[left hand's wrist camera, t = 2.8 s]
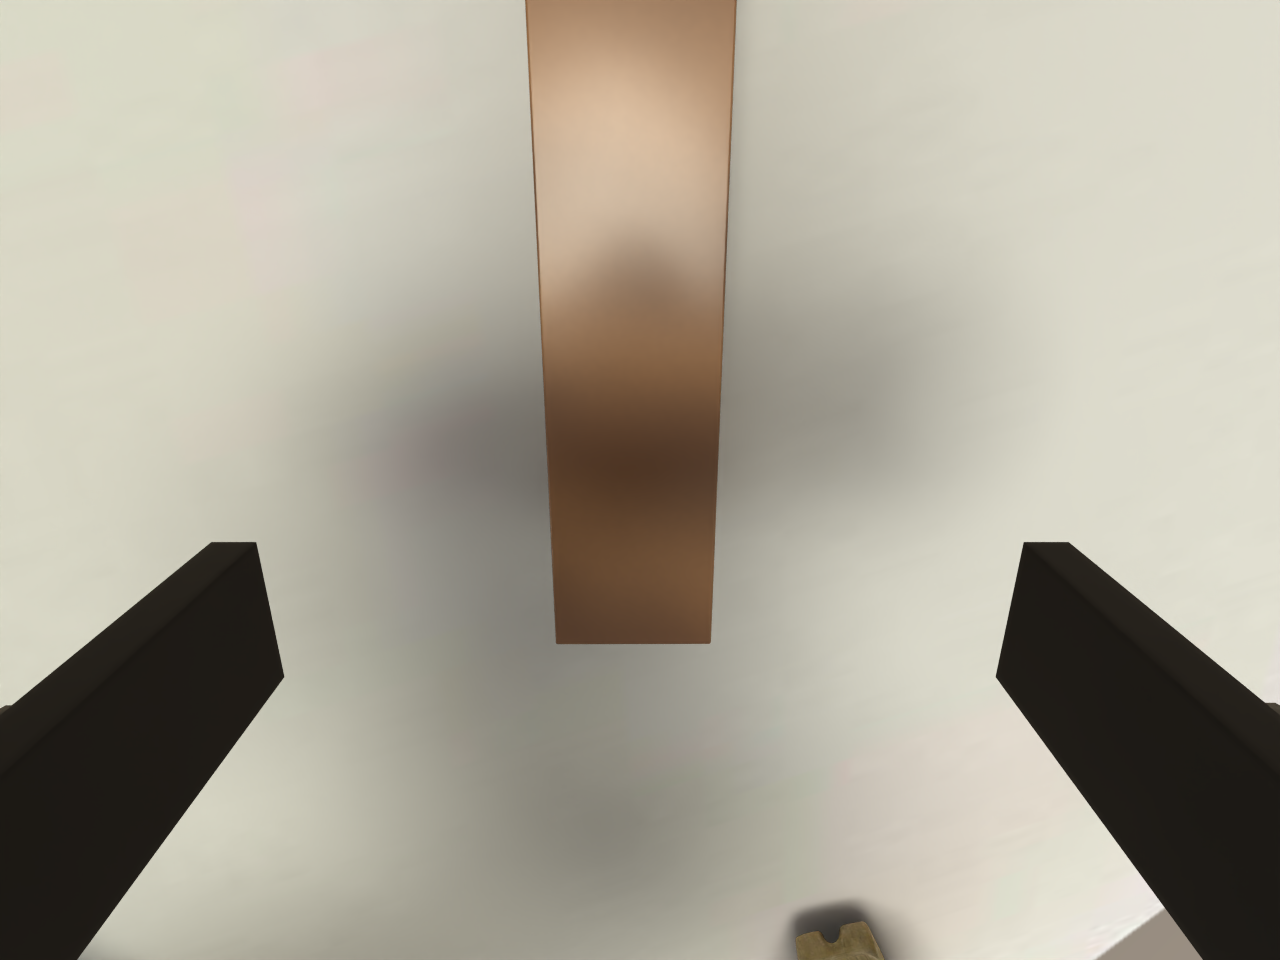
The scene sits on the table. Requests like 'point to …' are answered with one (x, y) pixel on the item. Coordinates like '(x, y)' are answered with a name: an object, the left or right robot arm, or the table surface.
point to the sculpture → (840, 945)
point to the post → (632, 305)
